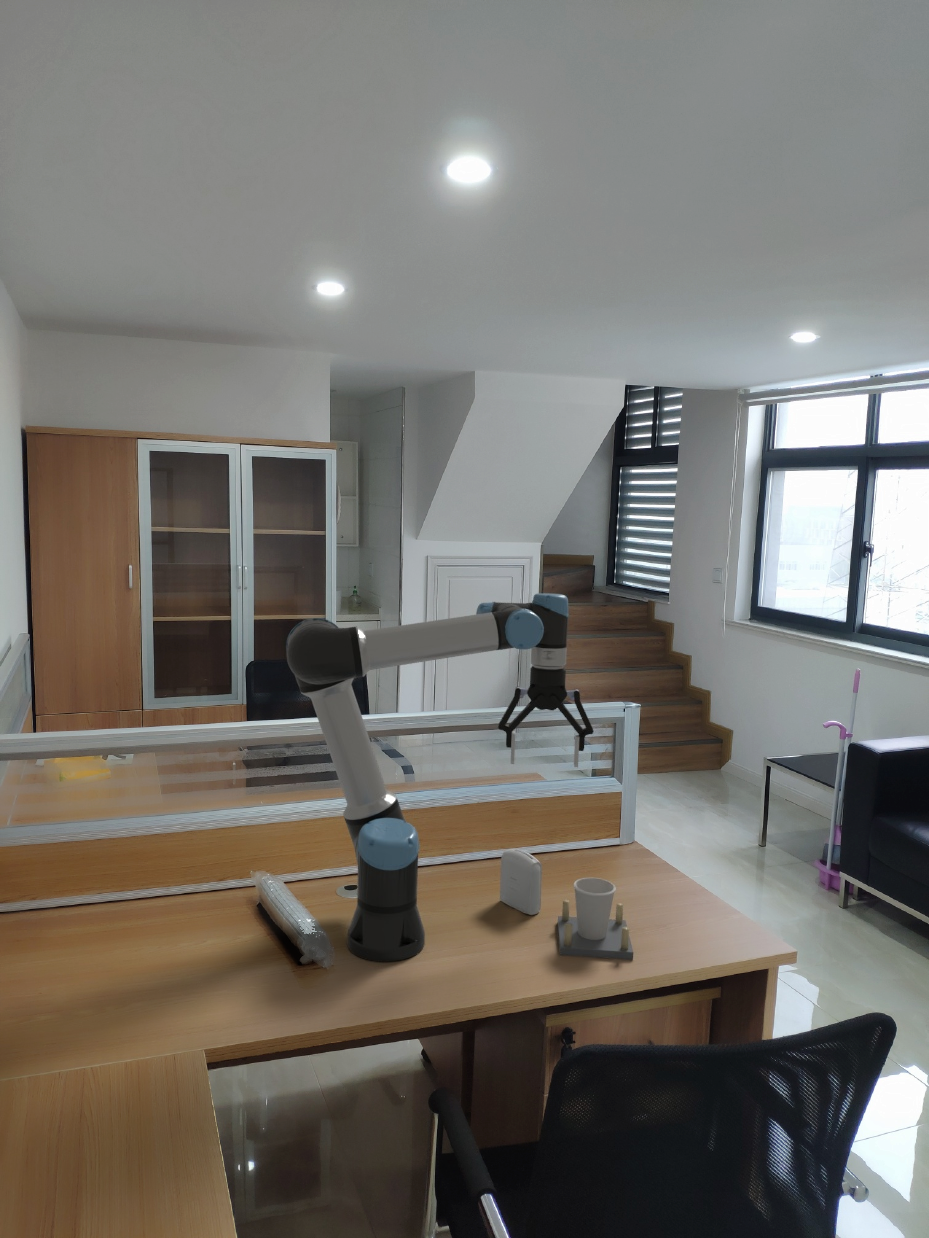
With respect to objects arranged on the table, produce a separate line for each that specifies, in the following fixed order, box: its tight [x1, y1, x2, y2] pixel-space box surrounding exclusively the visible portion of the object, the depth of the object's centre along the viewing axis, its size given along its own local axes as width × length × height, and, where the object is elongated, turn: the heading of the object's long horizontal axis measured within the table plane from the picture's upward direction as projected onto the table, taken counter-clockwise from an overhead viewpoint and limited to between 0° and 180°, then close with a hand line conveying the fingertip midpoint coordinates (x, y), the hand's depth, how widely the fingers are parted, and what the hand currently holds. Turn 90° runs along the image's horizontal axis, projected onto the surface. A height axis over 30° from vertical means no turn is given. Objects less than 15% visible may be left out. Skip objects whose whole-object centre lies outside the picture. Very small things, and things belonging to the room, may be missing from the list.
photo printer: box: [499, 848, 543, 916], centre depth 191 cm, size 10×4×12 cm, turn 39°
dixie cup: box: [572, 877, 616, 940], centre depth 176 cm, size 8×8×10 cm
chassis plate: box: [557, 899, 634, 961], centre depth 177 cm, size 14×14×6 cm
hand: (544, 764), depth 189 cm, fingers open, 13 cm apart
